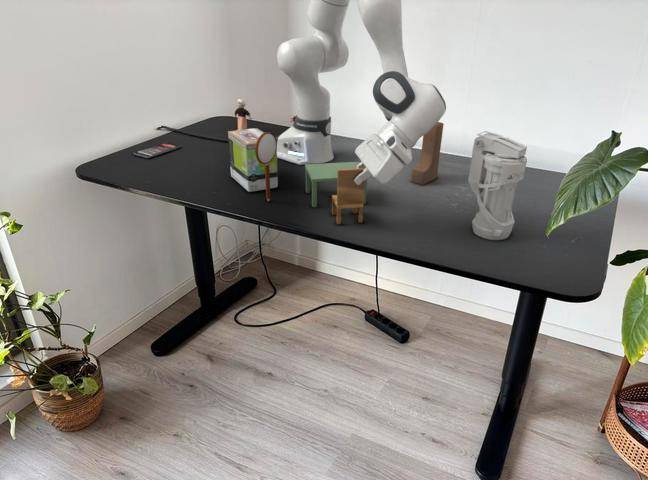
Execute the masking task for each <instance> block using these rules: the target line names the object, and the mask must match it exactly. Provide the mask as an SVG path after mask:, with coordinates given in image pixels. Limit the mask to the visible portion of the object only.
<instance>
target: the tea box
mask: <svg viewBox="0 0 648 480" xmlns="http://www.w3.org/2000/svg"><path fill="white" fill-rule="evenodd" d="M263 133H265V131H263V130H261V129H259V128H258V127H254V128H247V129H245V130H237V129H236V130H229V131H227V139H228V141H229V142H228V154H229V163H230V164H229V166H230V167H229V168H230V177H231V178H233V179H234V180H235V181H236V182H237V183H238V184H239V185H240V186H241V187H243V188H244V189H245V190H246V191H247V192H248V193H252V192H259V191H266V180H265V164H262V163H260V162H259V161H258V160H257V158H256V154H255V147H256V143H257V140H258V138H259V137H260V136H261V135H262V134H263ZM276 142H277V141H276ZM268 164H269V174H270V189H274V188H275V189H276V188H278V186H279V185H278V184H279V183H278V182H279V181H278V179H279V177H278V158H277V149H276V153H275V156H274V158H273V159H272V161H271V162H269V163H268Z"/></svg>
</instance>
